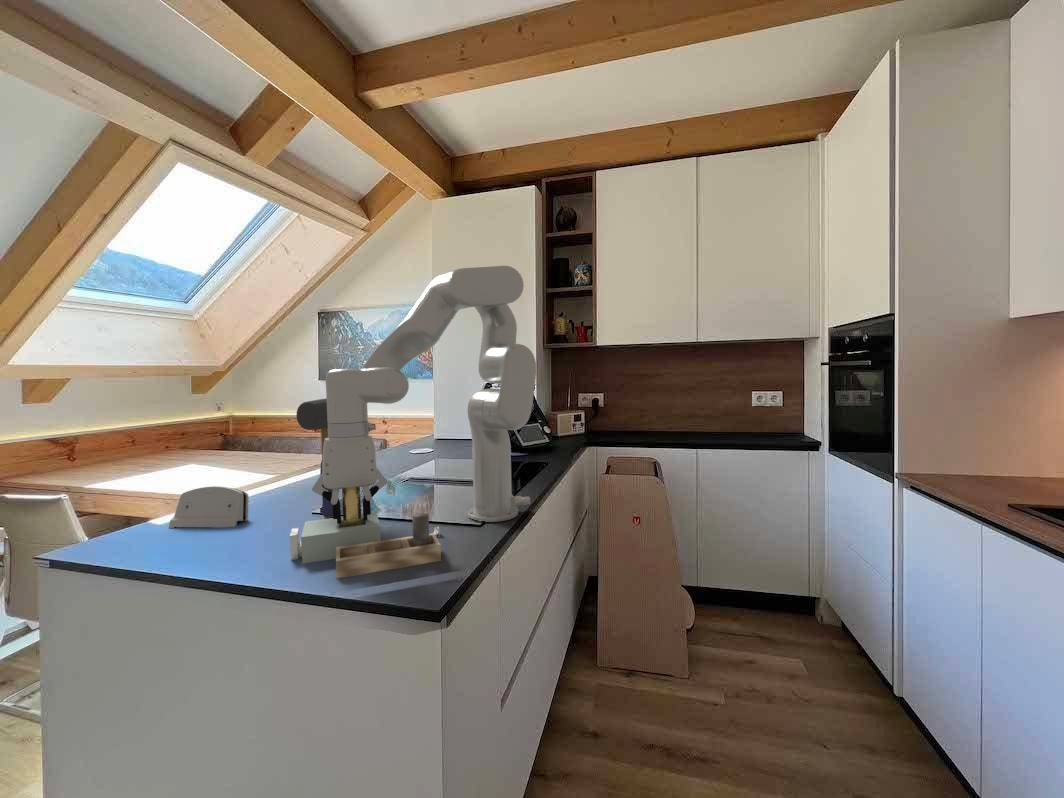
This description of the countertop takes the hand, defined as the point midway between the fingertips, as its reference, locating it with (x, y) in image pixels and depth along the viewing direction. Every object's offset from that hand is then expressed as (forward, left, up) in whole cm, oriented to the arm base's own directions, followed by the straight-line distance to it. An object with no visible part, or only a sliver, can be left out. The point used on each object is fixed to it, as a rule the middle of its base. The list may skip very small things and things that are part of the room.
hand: (352, 519), depth 95 cm
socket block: (+2, 0, -7) cm, 7 cm away
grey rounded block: (+32, -35, -7) cm, 48 cm away
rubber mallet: (+5, -27, -7) cm, 28 cm away
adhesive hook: (-15, 0, -7) cm, 17 cm away
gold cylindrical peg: (0, 0, -6) cm, 6 cm away
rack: (-6, +11, -7) cm, 14 cm away
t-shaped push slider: (+7, 0, -6) cm, 10 cm away
